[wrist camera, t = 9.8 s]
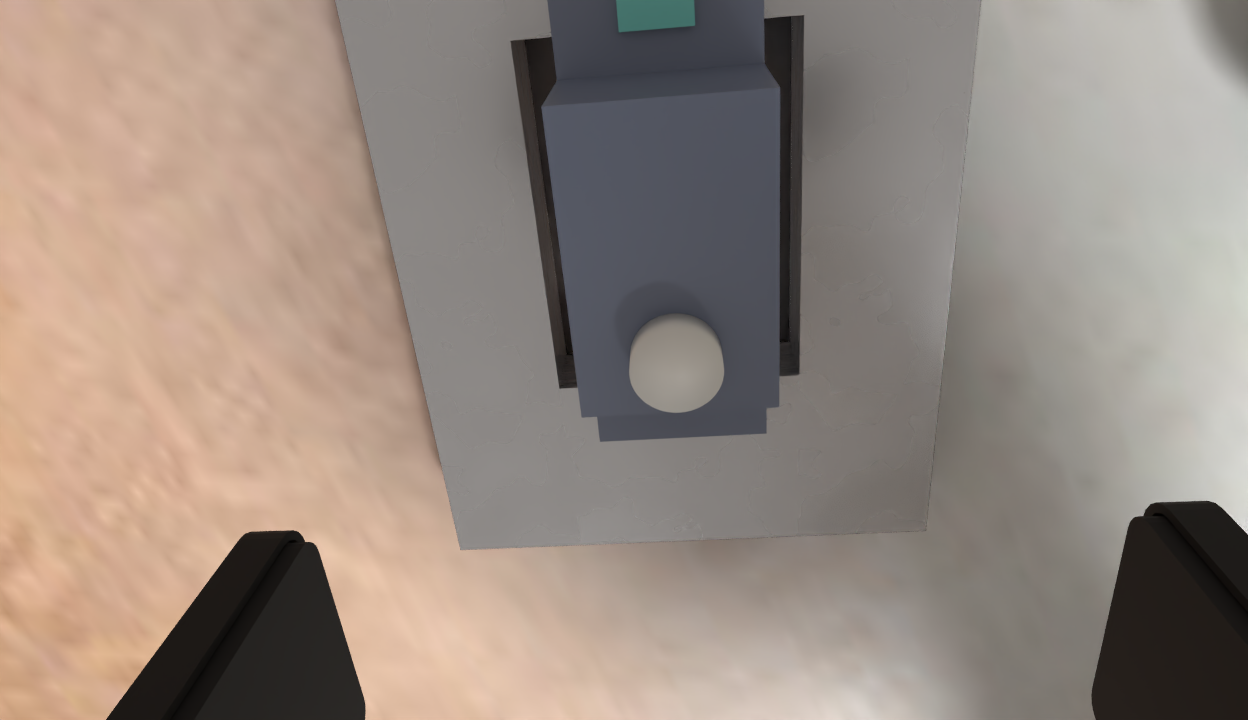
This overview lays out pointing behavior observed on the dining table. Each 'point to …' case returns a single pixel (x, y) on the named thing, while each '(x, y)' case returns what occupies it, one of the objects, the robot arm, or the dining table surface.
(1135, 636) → the robot arm
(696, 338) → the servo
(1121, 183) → the dining table surface
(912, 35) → the chassis
